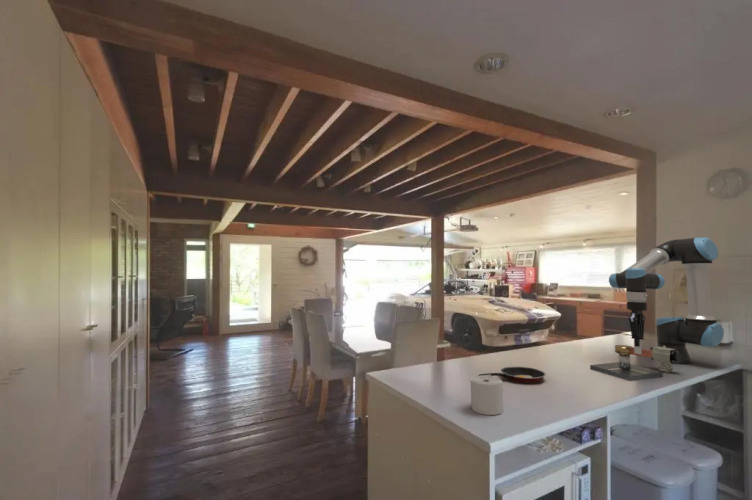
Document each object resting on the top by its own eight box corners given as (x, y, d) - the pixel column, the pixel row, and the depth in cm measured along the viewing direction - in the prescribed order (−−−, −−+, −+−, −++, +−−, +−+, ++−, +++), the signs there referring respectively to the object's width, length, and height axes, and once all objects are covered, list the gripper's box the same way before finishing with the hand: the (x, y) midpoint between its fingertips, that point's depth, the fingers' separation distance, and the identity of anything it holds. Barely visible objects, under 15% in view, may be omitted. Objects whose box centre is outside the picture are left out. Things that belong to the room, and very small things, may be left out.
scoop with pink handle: (612, 352, 167) (612, 346, 168) (619, 350, 171) (618, 344, 171) (648, 358, 155) (648, 351, 155) (655, 356, 159) (654, 349, 159)
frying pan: (556, 383, 152) (556, 374, 152) (492, 390, 143) (491, 380, 143) (526, 371, 170) (526, 363, 170) (467, 377, 161) (467, 369, 161)
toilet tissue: (478, 416, 116) (477, 385, 117) (465, 403, 128) (464, 375, 129) (509, 414, 117) (508, 384, 118) (493, 402, 129) (492, 374, 130)
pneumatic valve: (655, 367, 174) (653, 343, 175) (683, 374, 163) (681, 347, 164) (648, 369, 172) (646, 344, 173) (675, 375, 161) (673, 348, 162)
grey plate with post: (621, 365, 178) (620, 347, 179) (663, 376, 159) (661, 356, 160) (590, 369, 172) (589, 350, 173) (629, 380, 153) (628, 359, 154)
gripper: (641, 302, 156) (642, 356, 153) (651, 301, 163) (653, 353, 161) (621, 301, 162) (623, 353, 160) (632, 300, 169) (633, 350, 167)
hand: (638, 353), depth 160 cm, fingers closed
